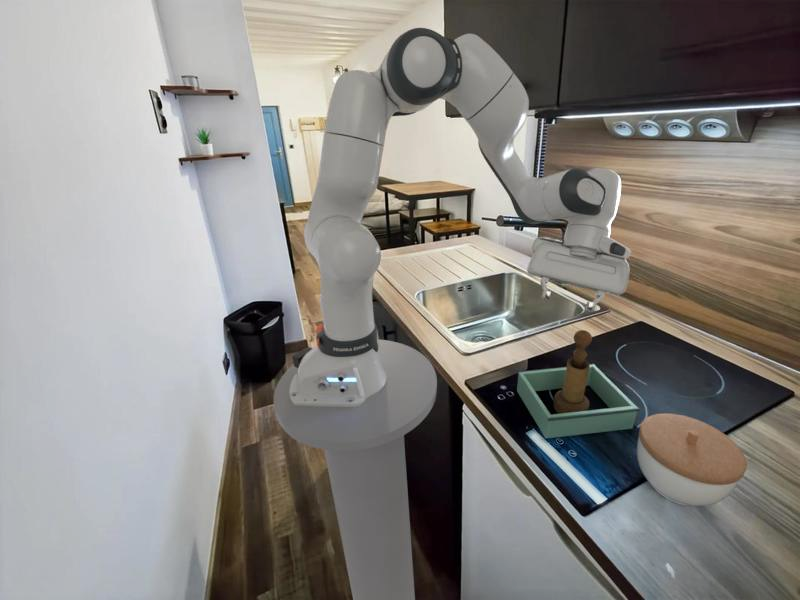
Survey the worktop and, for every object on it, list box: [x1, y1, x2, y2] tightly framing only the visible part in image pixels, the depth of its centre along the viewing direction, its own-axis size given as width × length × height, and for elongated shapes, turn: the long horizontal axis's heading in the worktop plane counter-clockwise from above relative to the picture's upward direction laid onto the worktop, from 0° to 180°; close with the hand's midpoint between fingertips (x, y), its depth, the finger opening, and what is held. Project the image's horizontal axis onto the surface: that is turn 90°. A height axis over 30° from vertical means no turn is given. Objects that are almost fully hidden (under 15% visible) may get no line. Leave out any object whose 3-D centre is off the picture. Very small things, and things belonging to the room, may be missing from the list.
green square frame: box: [516, 363, 640, 439], centre depth 73 cm, size 17×14×5 cm
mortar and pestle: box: [552, 329, 593, 414], centre depth 71 cm, size 7×6×18 cm
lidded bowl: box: [636, 412, 748, 507], centre depth 55 cm, size 13×13×11 cm
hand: (567, 304), depth 80 cm, fingers open, 8 cm apart
